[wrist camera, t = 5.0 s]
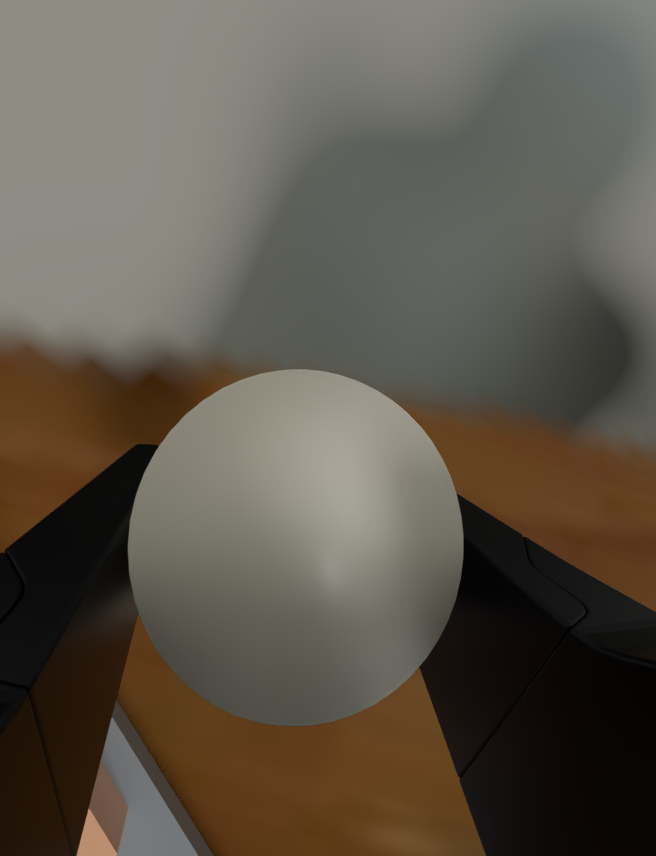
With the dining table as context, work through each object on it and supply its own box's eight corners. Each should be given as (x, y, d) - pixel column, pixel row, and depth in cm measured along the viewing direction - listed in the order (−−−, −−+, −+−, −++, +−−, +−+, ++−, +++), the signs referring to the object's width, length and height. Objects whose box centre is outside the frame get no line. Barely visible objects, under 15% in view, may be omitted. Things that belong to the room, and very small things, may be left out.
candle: (324, 550, 15) (517, 567, 6) (217, 633, 14) (266, 824, 5) (257, 449, 16) (349, 320, 6) (145, 519, 14) (50, 479, 5)
